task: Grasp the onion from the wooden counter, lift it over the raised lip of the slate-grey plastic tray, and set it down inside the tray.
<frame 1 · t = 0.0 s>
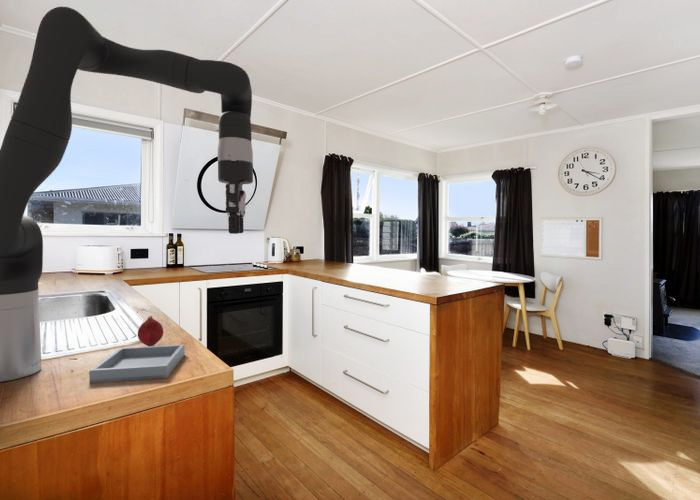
hand: (236, 233, 82), 29 cm above the worktop, fingers open, 8 cm apart
onion: (151, 347, 93), on the worktop
tray: (142, 367, 79), on the worktop
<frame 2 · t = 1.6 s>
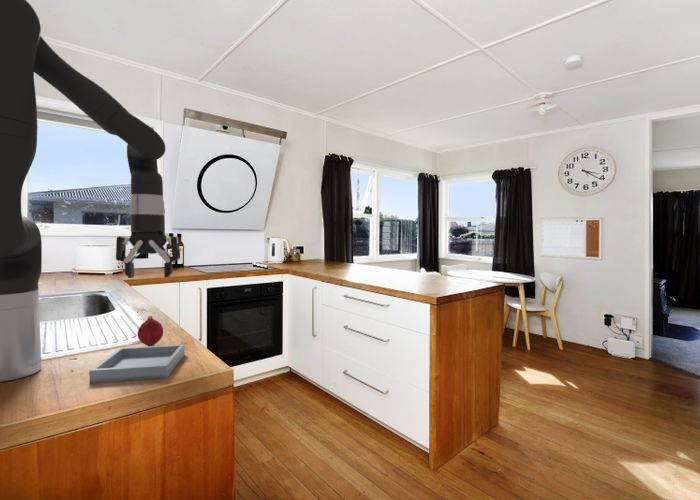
hand: (149, 277, 92), 18 cm above the worktop, fingers open, 8 cm apart
nothing on the worktop moved.
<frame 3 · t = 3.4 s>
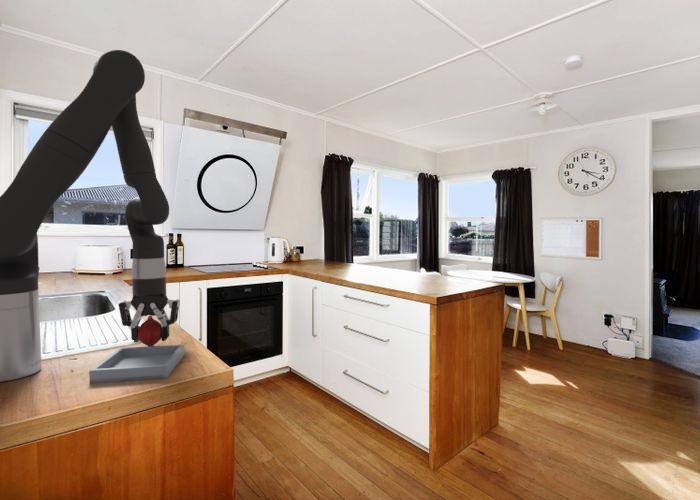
hand: (150, 340, 93), 2 cm above the worktop, fingers closed on onion, 6 cm apart
onion: (151, 347, 93), on the worktop, touching gripper
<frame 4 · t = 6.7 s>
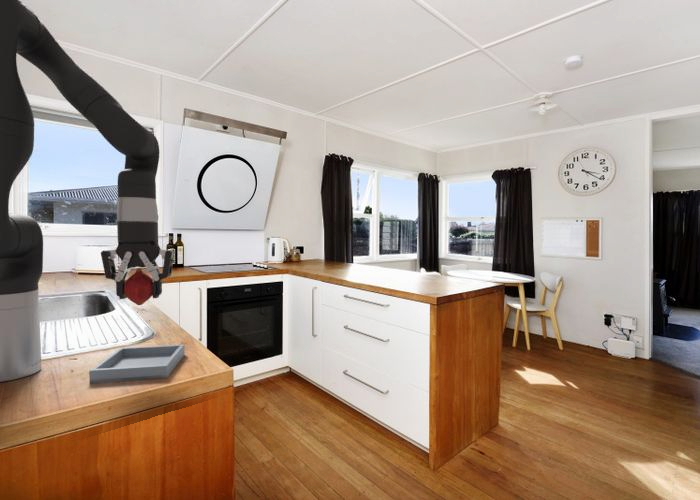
hand: (139, 297, 78), 15 cm above the worktop, fingers closed on onion, 6 cm apart
onion: (140, 306, 78), point 14 cm above the worktop, touching gripper
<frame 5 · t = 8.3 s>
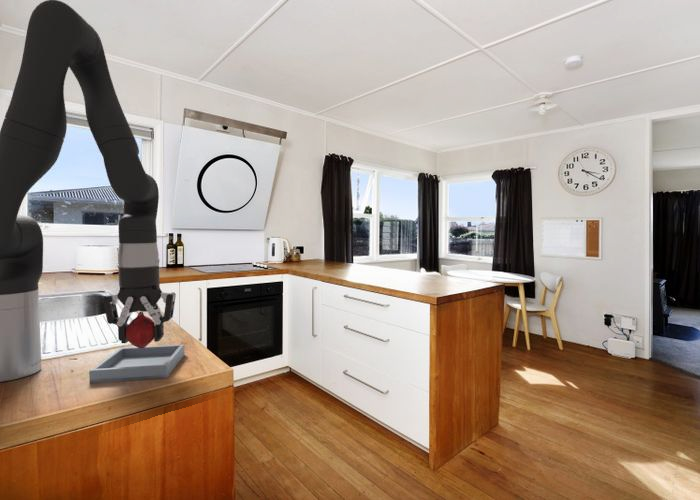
hand: (141, 341, 78), 6 cm above the worktop, fingers closed on onion, 6 cm apart
onion: (142, 349, 78), point 4 cm above the worktop, touching gripper
when the fingers open (4 cm above the worktop, at t = 9.8 s): onion drops 1 cm, resting on tray.
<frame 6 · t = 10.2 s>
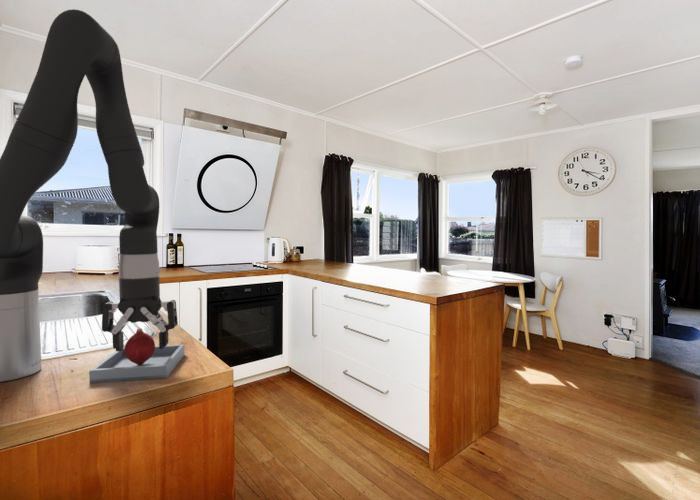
hand: (141, 349, 79), 4 cm above the worktop, fingers open, 8 cm apart
onion: (140, 365, 79), resting on tray
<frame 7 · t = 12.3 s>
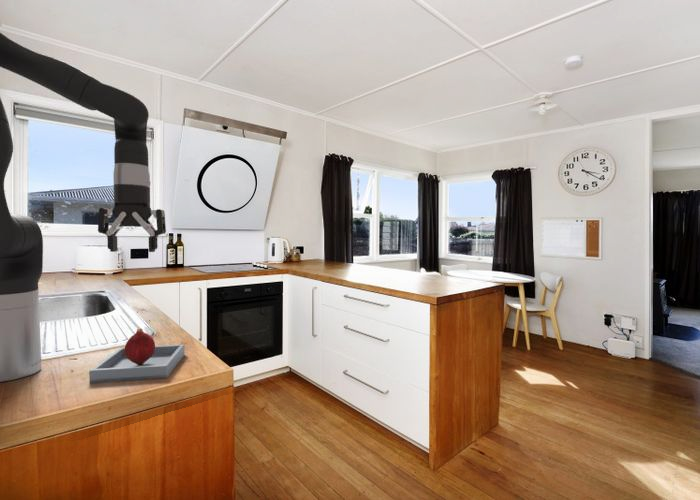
hand: (133, 251, 88), 25 cm above the worktop, fingers open, 8 cm apart
nothing on the worktop moved.
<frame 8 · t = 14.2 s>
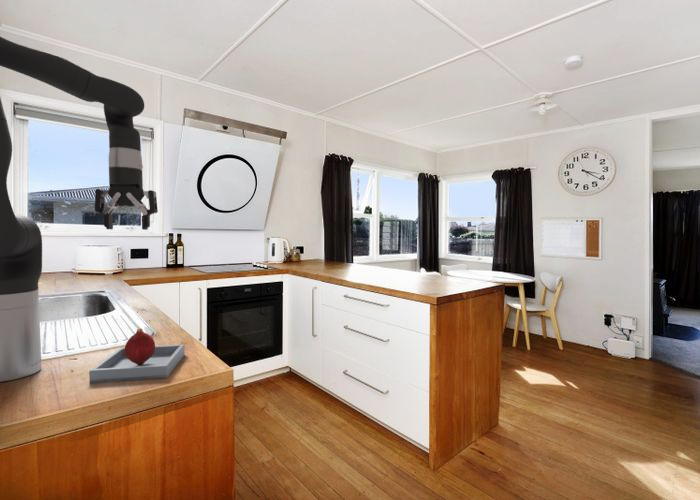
hand: (127, 229, 96), 30 cm above the worktop, fingers open, 8 cm apart
nothing on the worktop moved.
at the end: onion inside the target area on the tray (0.3 cm from its centre), point 0.4 cm above the tray's base; the gripper is holding nothing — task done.
